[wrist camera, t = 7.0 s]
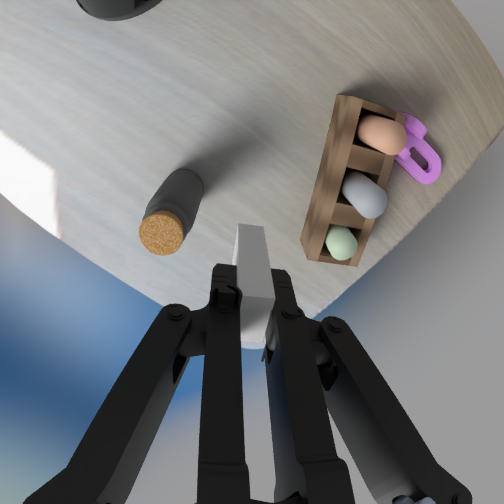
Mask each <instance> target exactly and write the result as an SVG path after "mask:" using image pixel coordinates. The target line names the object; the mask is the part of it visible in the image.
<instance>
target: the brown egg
mask: <svg viewBox="0 0 504 504" xmlns="http://www.w3.org/2000/svg"><path fill="white" fill-rule="evenodd" d="M356 134H357V136H358V138H359V139H360V140H361V141H362V142H363V143H365V144H367V145H369V146H371V147H373V148H375V149H377V150H379V151H381V152H383V153H385V154H387V155H396V154H399V153H400V152H401V151H402V150H403V149H404V148H405V146H406V143H407V134H406V130H405V129H404V127H403V126H402V125H401V124H400V123H398V122H396V121H393V120H389V119H385V118H382V117H378V116H374V115H364V116H362V117H361V118H360V119H359V120H358V123H357V127H356Z"/></svg>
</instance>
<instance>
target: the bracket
mask: <svg viewBox="0 0 504 504" xmlns="http://www.w3.org/2000/svg"><path fill="white" fill-rule="evenodd" d="M396 112H398V111H396ZM399 113H402V112H399ZM402 114H404V115H406V119H405V123H404V129H405V130H406V134H407V143H406V146H405V148H404V149H403V150H402V151H401V152H400V153H399V154H396V156H395V160H396V161H397V162H398V163H399V164H400V165H401V166H402V167H403V168H404V169H405V170H407V171H408V172H409V173H410V174H411V175H412V176H413V177H414V178H415V179H416V180H418V181H419V182H421V183H423V184H430V183H432V182H434V181H435V180H436V179H437V178H438V176H439V175H440V172H441V160H440V157H439V156H438V154H437V153H436V152H435V151H434V150H433V149H432V148H431V147H430V146H429V144H428V143H427V142H426V141H425V140H424V139H423V137H424V136H425V134H426V133H427V129H426V127H425V126H424V125H423V124H422V123H421V122H420V121H419V120H418V119H416V118H415V117H413V116H412V115H410V114H406V113H402ZM412 147H414V148H415V149H416V150H417V151H418V152H419V153H420V154H421V155H422V156H423V157H424V158H425V159H426V160H427V162H428V168H427V169H426V170H423V169H422V168H421V167H420V166H419V165H418V164H417V163H416V162H415V161H414V160H413V159H412V158H411V157H410V155H411V153H410V152H409V150H410V148H412Z"/></svg>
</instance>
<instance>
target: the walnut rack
mask: <svg viewBox="0 0 504 504" xmlns="http://www.w3.org/2000/svg"><path fill="white" fill-rule="evenodd" d="M361 109H363V110H366V111H369V112H372V113H375V114H376V116H378V117H382V118H385V119H389V120H393V121H396V122H398V123H400V124H401V125H402V126H403V127H404V123H405V119H406V115H404V114H402V113H399V112H396V111H394V110H391V109H388V108H386V107H383V106H380V105H377V104H375V103H372V102H369V101H366V100H363V99H360V98H357V97H354V96H347V95H337V97H336V101H335V106H334V110H333V114H332V119H331V123H330V127H329V131H328V135H327V140H326V144H325V148H324V152H323V156H322V160H321V164H320V168H319V172H318V175H317V179H316V183H315V187H314V191H313V195H312V198H311V202H310V206H309V210H308V213H307V217H306V221H305V224H304V228H303V231H302V235H301V238H300V241H301V244H302V246H303V249H304V252H305V254H306V257H307V260H312V261H319V262H326V263H334V264H341V265H349V266H356V267H358V264H359V262H360V259H361V256H362V254H363V251H364V249H365V246H366V243H367V241H368V238H369V235H370V233H371V230H372V227H373V224H374V221H375V219H376V218H372V219H369V218H365V217H363V216H362V215H361V214H360V213H359V212H358V211H357V210H356V208H355V207H354V206H353V205H352V204H351V203H350V202H349V200H348V199H347V198H346V197H345V196H344V195H343V194H342V192H340V191H339V190H340V187H341V183H342V180H343V176H344V173H345V169H346V167H349V168H353V169H357V170H361V173H362V174H364V175H365V176H366V177H367V178H369V179H370V180H371V181H373V182H374V183H375V184H376V185H378V186H379V187H380V188H381V189H383V190H384V191H385V189H386V186H387V183H388V179H389V176H390V173H391V170H392V166H393V163H394V160H395V156H396V155H387V154H385V153H383V152H381V151H379V150H377V149H375V148H373V147H371V146H369V145H365V144H362V143H358V142H355V141H353V139H354V135H355V131H356V127H357V123H358V119H359V115H360V111H361ZM329 224H336V225H341V226H347V227H348V229H349V230H350V231H351V233H352V234H353V236H354V237H355V239H356V240H357V243H358V247H357V251H356V252H355V254H354V255H353V256H352V257H350V258H349V259H346V260H337V259H335V258H334V257H333V256H332V255H331V253H330V251H329V249H328V247H327V245H326V243H325V241H324V240H325V237H326V233H327V230H328V227H329Z"/></svg>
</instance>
